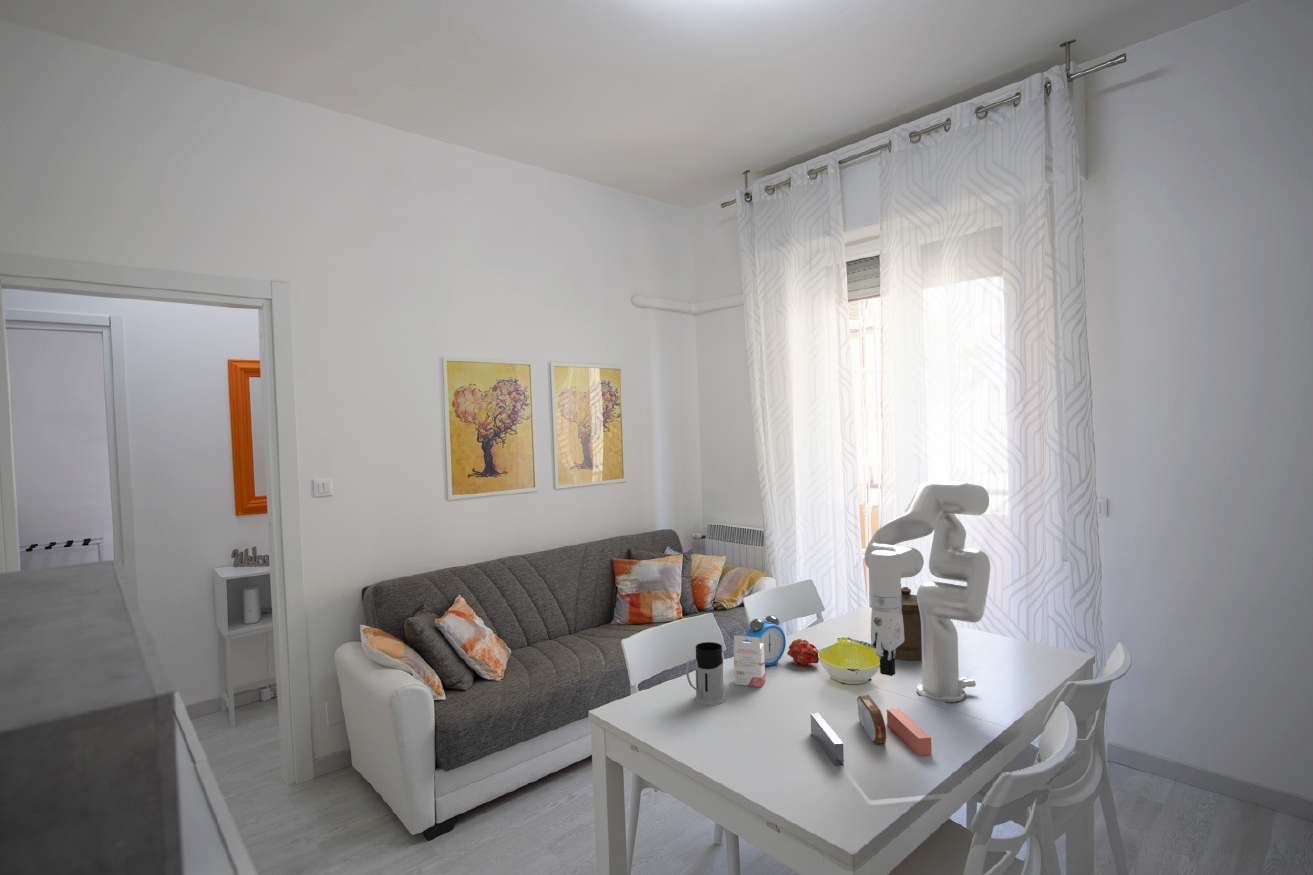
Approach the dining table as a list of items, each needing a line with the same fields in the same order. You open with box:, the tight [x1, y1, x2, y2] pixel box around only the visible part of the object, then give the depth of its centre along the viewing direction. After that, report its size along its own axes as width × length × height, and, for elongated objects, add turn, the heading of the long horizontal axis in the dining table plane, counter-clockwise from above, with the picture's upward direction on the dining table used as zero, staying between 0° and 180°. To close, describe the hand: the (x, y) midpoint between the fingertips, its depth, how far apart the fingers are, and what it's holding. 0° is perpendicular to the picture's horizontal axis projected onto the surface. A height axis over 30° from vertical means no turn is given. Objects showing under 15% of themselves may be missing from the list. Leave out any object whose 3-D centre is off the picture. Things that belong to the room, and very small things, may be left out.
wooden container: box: [894, 586, 922, 661], centre depth 219 cm, size 15×15×22 cm
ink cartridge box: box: [733, 634, 766, 688], centre depth 197 cm, size 9×5×15 cm, turn 68°
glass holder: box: [685, 641, 726, 706], centre depth 184 cm, size 9×14×15 cm, turn 137°
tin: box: [856, 694, 887, 745], centre depth 162 cm, size 15×3×8 cm, turn 179°
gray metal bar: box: [810, 712, 845, 767], centre depth 156 cm, size 2×16×5 cm, turn 6°
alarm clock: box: [743, 615, 787, 667], centre depth 212 cm, size 13×6×15 cm, turn 122°
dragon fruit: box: [786, 638, 820, 668], centre depth 211 cm, size 8×8×12 cm
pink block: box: [886, 707, 933, 757], centre depth 158 cm, size 3×16×4 cm, turn 6°
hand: (887, 673), depth 163 cm, fingers closed
